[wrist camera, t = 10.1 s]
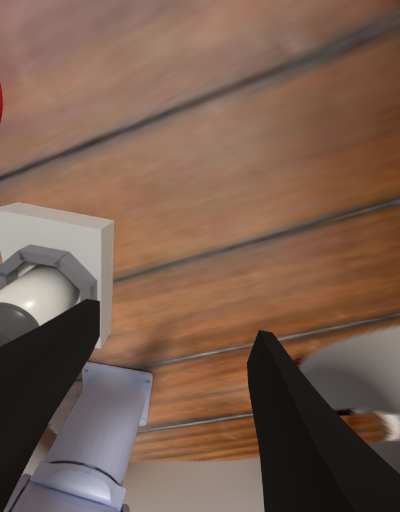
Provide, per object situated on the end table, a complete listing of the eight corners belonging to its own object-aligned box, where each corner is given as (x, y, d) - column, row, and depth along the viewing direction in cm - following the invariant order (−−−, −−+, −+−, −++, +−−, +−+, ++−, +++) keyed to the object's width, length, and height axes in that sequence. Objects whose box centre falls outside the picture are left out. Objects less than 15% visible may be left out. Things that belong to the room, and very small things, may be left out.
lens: (83, 310, 20) (48, 357, 16) (33, 306, 20) (-17, 352, 16) (75, 266, 19) (32, 305, 14) (20, 261, 19) (-41, 299, 14)
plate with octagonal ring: (111, 330, 24) (94, 358, 21) (35, 316, 24) (6, 343, 21) (114, 220, 19) (93, 234, 16) (18, 202, 19) (-23, 212, 16)
